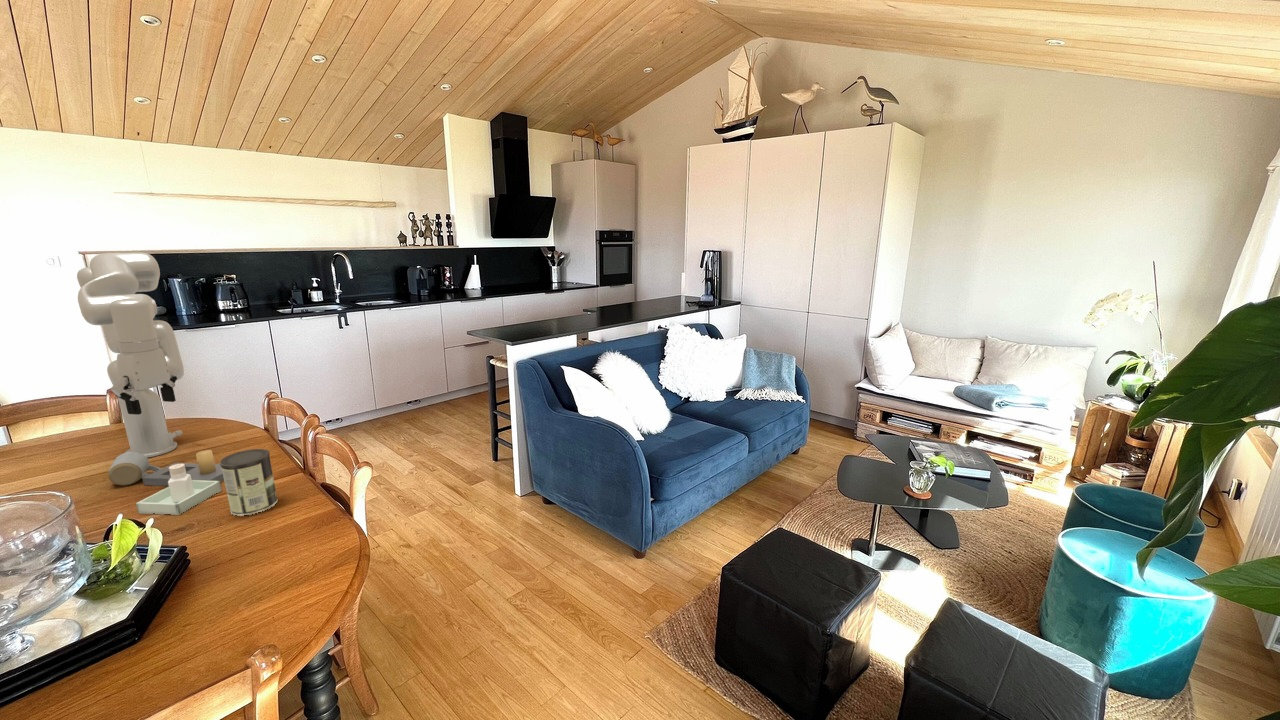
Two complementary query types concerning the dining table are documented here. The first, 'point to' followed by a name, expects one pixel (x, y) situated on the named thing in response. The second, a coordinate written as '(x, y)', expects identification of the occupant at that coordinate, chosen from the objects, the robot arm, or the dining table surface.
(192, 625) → the dining table surface
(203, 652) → the dining table surface
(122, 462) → the ceramic mug
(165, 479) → the socket block
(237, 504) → the coffee can
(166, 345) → the robot arm
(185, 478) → the small white bottle
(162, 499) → the tray
